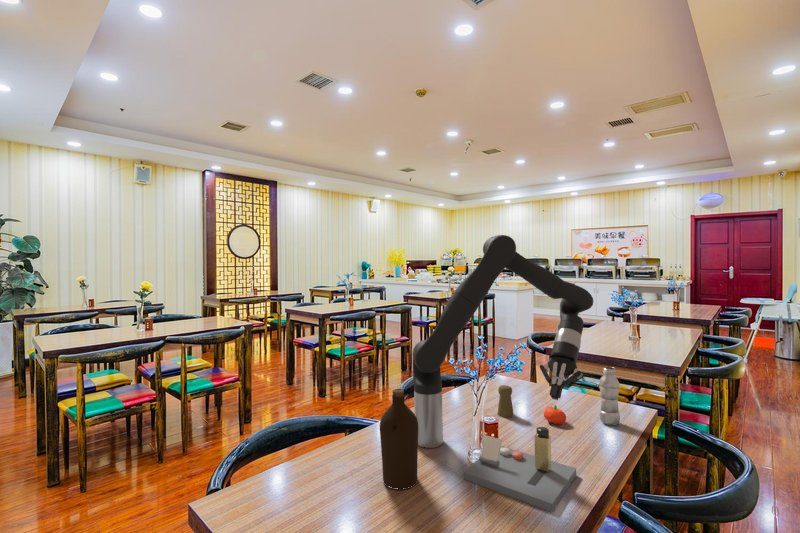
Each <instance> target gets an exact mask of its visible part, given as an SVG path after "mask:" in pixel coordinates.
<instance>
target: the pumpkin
mask: <svg viewBox="0 0 800 533" xmlns="http://www.w3.org/2000/svg"><path fill="white" fill-rule="evenodd" d="M543 417H544V419H545V420H547V421H548V422H549V423H551V424H554V425H561V424H564V423H565V422H566V421H567V416H566V413H565V412H564V411H563V410H562V409H560V408H558V406H557V405H555V404H554V405H553V406H548V407H546V408H545V409H544V412H543Z"/></svg>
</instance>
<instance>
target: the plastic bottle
mask: <svg viewBox="0 0 800 533" xmlns="http://www.w3.org/2000/svg"><path fill="white" fill-rule="evenodd" d="M602 373H603V375H602V376H601V377H600V378H599V380H598V385H599V391H600V409H599V420H600V421H601V423H602V424H604V425H609V426H617V425H618V424H619V423H620V421H621V414H620V411H619V391H620V382H619V380H618V378H617V377H616V368H615V367H612V366H603V371H602Z"/></svg>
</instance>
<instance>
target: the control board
mask: <svg viewBox="0 0 800 533" xmlns="http://www.w3.org/2000/svg"><path fill="white" fill-rule="evenodd" d="M499 462H500V465H499V467H496V466H493V465H490V464H487V463H484V462H481V461H479V458H477V459H476V460H475V461H474V462H473V463H472V464H470V466H468V467H467V468H466V469H465V470H464V471H463V480H465V481H468V482H469V483H470V482H471V483H473V484H476V485H478V486H482V487H483V488H486V489H489V490H492V491H495V492H497V493H500V494H502V495H504V496H508V497H510V498H513V499H515V500H518V501H521V502H524V503H527V504H529V505H531V506H534V507H538V508H539V509H542V510H545V511H548V512H550V513H553V512H554V511H555V509H556V508H557V507H558V505H559V503H560V501H561V500H562V498H563V497H564V495H565V493H566V492H567V491H568V489H569V488H570V486H571V484H572V483H573V481H574V480H575V478H576V476H577V468H576V467H574V466H571V465H566V464H563V463H561V462H556V461H553V460H551V469H550V470H549V472H547V471H543V470H540V469H537V468H535V455H534V454H529V453H527V452H526V453H525V452H523V451H519V450H516V449H513V448H509V447H506V446H503V445H501V450H500V455H499Z"/></svg>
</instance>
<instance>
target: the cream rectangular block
mask: <svg viewBox="0 0 800 533" xmlns="http://www.w3.org/2000/svg"><path fill="white" fill-rule="evenodd" d="M502 442H503V440H502V439H500V438H497V437H493V436H490V435H487V434H485V435H484V440H483V445H482V450H481V454H480V455H479V457H478V459H479V461H481V462H484V463H487V464H490V465H493V466H496V467H499V465H500V462H499V455H500V450H501V446H502Z"/></svg>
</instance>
